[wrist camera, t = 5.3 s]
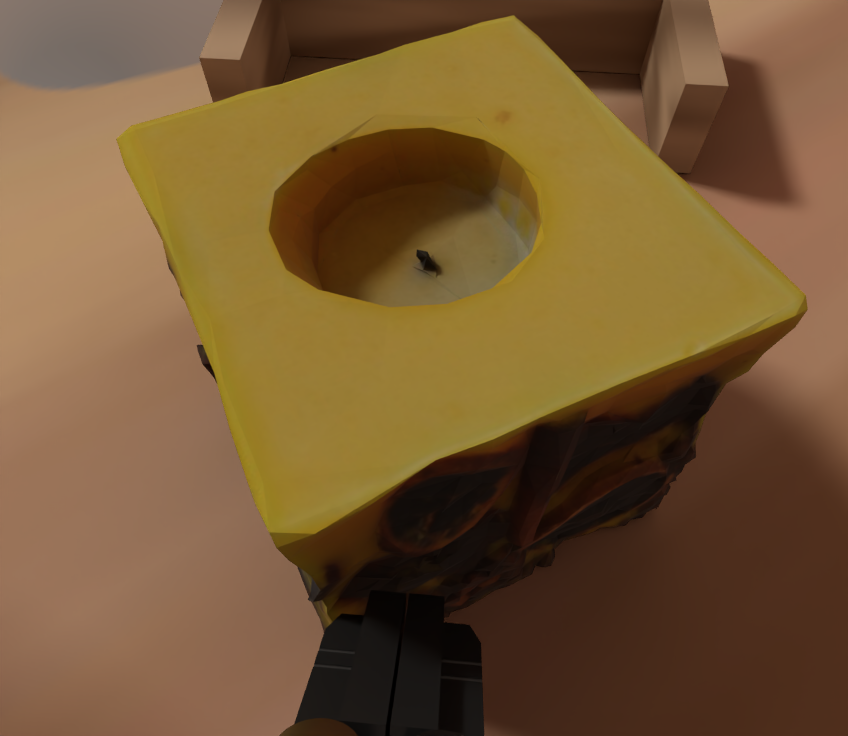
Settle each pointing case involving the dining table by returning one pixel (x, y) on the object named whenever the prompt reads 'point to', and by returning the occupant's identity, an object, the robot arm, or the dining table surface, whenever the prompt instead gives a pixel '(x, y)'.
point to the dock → (474, 3)
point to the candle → (449, 309)
